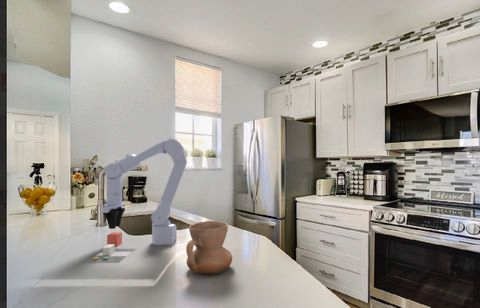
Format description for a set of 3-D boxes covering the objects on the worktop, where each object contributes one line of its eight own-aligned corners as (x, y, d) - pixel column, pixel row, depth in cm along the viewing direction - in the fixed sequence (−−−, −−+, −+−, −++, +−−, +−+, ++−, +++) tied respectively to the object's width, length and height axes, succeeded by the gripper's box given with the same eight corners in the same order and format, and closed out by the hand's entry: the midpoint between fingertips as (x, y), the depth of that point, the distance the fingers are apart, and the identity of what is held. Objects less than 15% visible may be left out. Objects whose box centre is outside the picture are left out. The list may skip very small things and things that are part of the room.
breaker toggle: (114, 251, 99) (114, 244, 99) (109, 255, 95) (109, 247, 95) (108, 251, 99) (108, 244, 99) (102, 255, 95) (102, 247, 95)
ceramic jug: (211, 256, 97) (210, 217, 97) (243, 264, 88) (242, 221, 89) (171, 274, 83) (169, 228, 83) (205, 287, 74) (203, 235, 74)
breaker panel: (136, 252, 103) (136, 247, 103) (118, 267, 89) (118, 260, 89) (105, 252, 103) (105, 247, 103) (82, 267, 89) (82, 260, 89)
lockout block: (121, 247, 110) (121, 232, 110) (117, 250, 106) (117, 234, 106) (112, 247, 110) (112, 232, 110) (107, 250, 106) (107, 235, 106)
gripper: (113, 191, 116) (113, 223, 116) (94, 196, 101) (94, 232, 101) (129, 191, 116) (130, 223, 115) (112, 195, 101) (112, 232, 101)
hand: (114, 227), depth 108 cm, fingers open, 3 cm apart
